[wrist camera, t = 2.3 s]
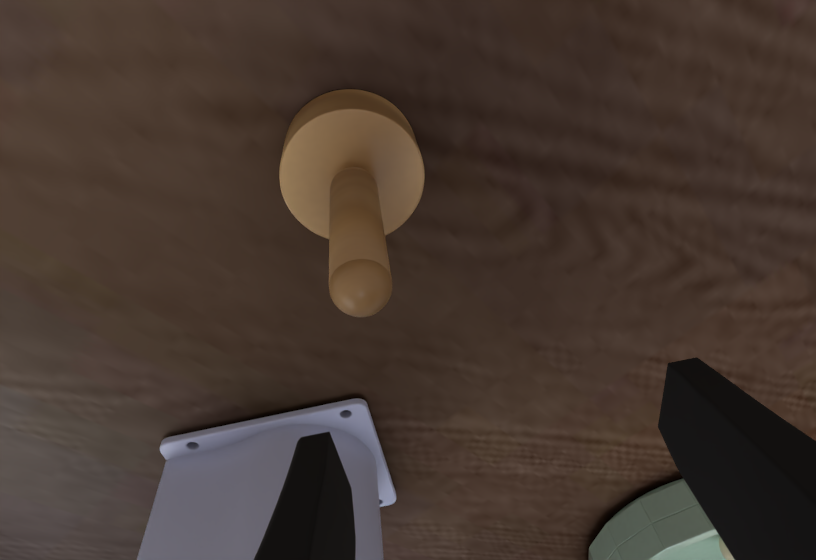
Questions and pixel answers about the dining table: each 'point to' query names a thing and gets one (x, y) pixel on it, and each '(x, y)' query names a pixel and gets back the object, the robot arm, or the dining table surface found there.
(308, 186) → the wooden rubber stamp
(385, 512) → the dining table surface
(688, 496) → the bowl
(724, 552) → the ball
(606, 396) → the dining table surface
